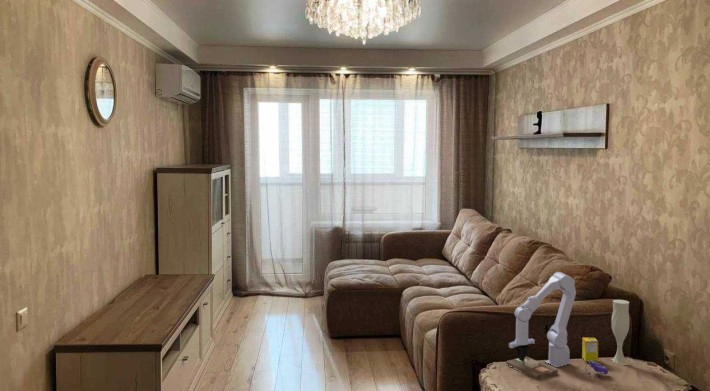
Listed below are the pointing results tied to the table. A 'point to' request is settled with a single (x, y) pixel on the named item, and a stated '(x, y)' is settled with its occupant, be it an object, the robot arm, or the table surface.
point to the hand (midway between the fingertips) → (521, 360)
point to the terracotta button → (541, 369)
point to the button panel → (533, 369)
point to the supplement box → (589, 349)
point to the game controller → (597, 368)
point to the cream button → (531, 363)
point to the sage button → (520, 361)
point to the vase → (620, 326)
